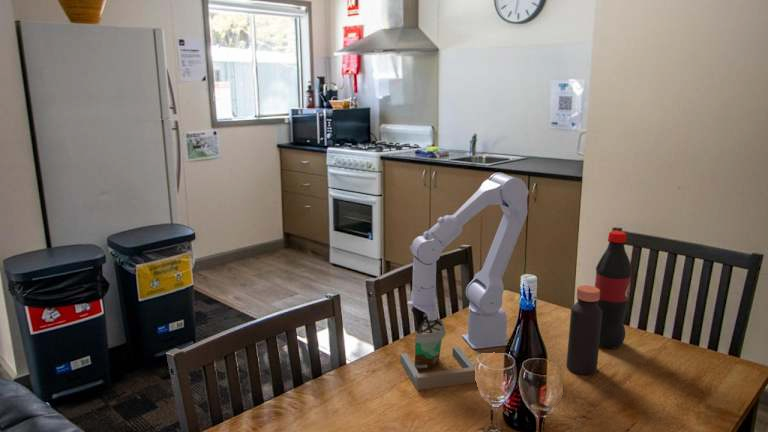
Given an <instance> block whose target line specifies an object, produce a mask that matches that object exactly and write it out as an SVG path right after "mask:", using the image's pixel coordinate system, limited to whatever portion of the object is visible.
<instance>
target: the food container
mask: <svg viewBox="0 0 768 432" xmlns="http://www.w3.org/2000/svg"><path fill="white" fill-rule="evenodd" d="M445 336H446V329H445V324H444V322H443V320H441V318H439V317H437V320H428V315H427V314H424V317H423V321H422V323H421V325H420V328H419V331H418V334H417V332H416V333H415V336H414V343H415V347H414V366H415V367H416V369H417V371H418V372H426V371H430V370H433V369H435V368H437V367H438V365H439V362H440V353H441V348H442V342H443V341H442V340H443V338H444V337H445Z"/></svg>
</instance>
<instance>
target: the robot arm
mask: <svg viewBox="0 0 768 432" xmlns="http://www.w3.org/2000/svg"><path fill="white" fill-rule="evenodd" d="M529 193H530V191H529V189H528V187H527V185H526V184H525V181H523V179H521V178H518V177H515V176H510V175H508V174H506V173H504V172H500V171H499V172H495V173H492V175H490V176H489V178H488V179H485V180H484V181H483V182H482V183H481V185H480V187H479V188H478V189H477V190H476V191H475V192H474V193H473V194H472V196H471V197H469V198H468V199H467V200H466V202H464V203H463V204H462V206H460V208H458V209H457V210H456V211H455V212H454V214H451V215H450V214H446V215H444V216H440V217H438V218H437V223H435V224H434V225H433V226H432V227H431V228H429V229H428V231H427V230H425V231H424V232H423V233H422V234H423V235H419V236H417V237H415V238H414V240H413V241H412V242H411V243H412V244H411V245H409V251H410V253H411V254H412V255H413V262H412V263H413V265H412V287H411V289H412V290H411V291H410V299H411V300H409V301H407V305H408V307H413V308H411V313H412V314H413V317H414V319H415V321H414V322H415V328H416V329H415V330H416V333H417V334H418V331H419V328H420V325H421V323H422V321H423V317H424V314H427V315H428V320H437V316H438V312H437V309H436V306H437V305H436V304H437V301H436V288H437V287H436V285H437V284H436V281H437V261H438V260H439V259H440V257H441V255H442V251H443V250H444V249H445V248H446V247H447V246H448V245H449V244H451V242H452V241H454V240H455V239H456V238H457V237H458V236H460V235H461V234H462V233H463V226H464V225H465V224H466V223H467V222H468V221H469V220H471V219H472V218H474V217H475V216H477V214H478V213H480V212H481V211H482V210H484V209H485V208H486V207H487V206H495V205H496V206H497V205H499V206H500V208H501V210H502V212H503V215H502V218H501V220H500V222H499V225H498V228H497V231H496V233H495V236H494V238H493V241H492V243H491V245H490V248H489V251H488V253H487V255H486V257H485V260H484V262H483V266H482V268H481V270H479V271H477V272H476V273H475V274H474V276H473V279H472V280H471V281H470V282H469V283H468V284H467V286H466V288H465V296H466V298H467V300H469V305H468V320H467V321H468V322H467V324H468V325H467V333H465V334H462V335H461V337H462V338H463V340H464V341H466V342H467V344H468V345H469V346H470V347H471V348H472V349H473V350H480V349H487V348H495V347H497V348H498V347H503V346H508V343H507V330H508V329H507V327H508V318H507V314H506V311H505V310H504V308H503V307H502V306H503V293H504V291H505V286H504V283H503V276H504V273H505V271H506V269H507V267H508V264H509V263H510V262H509V261H510V259H511V258H512V257H511V256H512V254H513V251H514V248H515V247H516V244H517V242H518V238H519V236H520V233H521V232H522V229H523V226H524V224H525V221H526V218H527V217H528V212H529V211H528V197H529Z"/></svg>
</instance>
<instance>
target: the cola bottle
mask: <svg viewBox="0 0 768 432" xmlns="http://www.w3.org/2000/svg"><path fill="white" fill-rule="evenodd" d="M607 241H608V245H607V247H606V250H605V251H604V253H603V254H602V256H601V257H600V259H599V261H598V262H597V265H596V267H595V272H596V273H595V280H594V281H595V283H594V287H596V288H598V289H599V290H600V297H599V302H598V303H597V305H598V306H599V307H600V308H601V310H602V321H601V331H600V341H599V347H601V348H605V349H617V348H619V347H621V346H622V345H623V343H624V341H625V337H626V328H625V325H624V321H625V317H626V313H627V310H628V306H629V303H630V290H631V289H630V288H631V279H632V275H633V267H632V264H631V261H630V258H629V256H628V254H627V252H626V249H625V248H626V247H625V244H626V243H627V233H626V232H624V231H620V230H611V231H609V233H608V238H607Z"/></svg>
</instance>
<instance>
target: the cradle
mask: <svg viewBox="0 0 768 432" xmlns="http://www.w3.org/2000/svg"><path fill="white" fill-rule="evenodd" d="M452 356H453V357H454V358H455V360H456V361H457V362H458V364H459V365H460V367H461V368H455V369H454V368H453V369H448V370H439V371H432V372H424V373H420V371H417V369H416V367H415V363H414V362H413V361H412V360H411V358H410V356H409V355H408V353H407V352H404V353H403V352H402V353H400V356H399V357H400V361H399V362H400V364H401V365H402V367H403V369H404V370H405V372H406V373H407V375H408V377H409V378H410V380H411V382H412V384H413V385H414V386H415V388H416V390H417V391H423V390H430V389H435V388H436V389H437V388H445V387H451V386H458V385H464V384H473V383H476V382H475V367H476V366H475V364H474V363H473V362H472V361H471V360H470V358H469V357H468V356H467V355H466V353H464V352H463V351H462V348H460V347H459V346H453V347H452Z"/></svg>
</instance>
